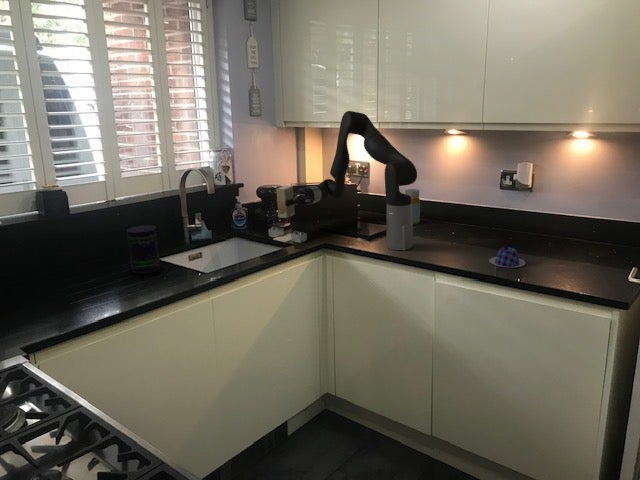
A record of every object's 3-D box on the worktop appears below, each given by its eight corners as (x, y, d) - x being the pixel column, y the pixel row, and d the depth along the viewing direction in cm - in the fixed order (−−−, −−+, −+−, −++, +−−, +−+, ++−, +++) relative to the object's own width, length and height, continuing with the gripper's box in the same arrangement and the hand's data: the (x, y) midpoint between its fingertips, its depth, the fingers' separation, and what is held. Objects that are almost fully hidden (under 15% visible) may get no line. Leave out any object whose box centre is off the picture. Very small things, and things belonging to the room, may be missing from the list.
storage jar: (126, 269, 196) (121, 229, 192) (152, 262, 203) (147, 223, 199) (140, 275, 189) (134, 233, 185) (165, 268, 196) (161, 228, 192)
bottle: (402, 224, 245) (403, 191, 240) (405, 221, 251) (405, 188, 247) (418, 225, 243) (419, 192, 238) (420, 221, 249) (421, 189, 245)
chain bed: (306, 240, 225) (306, 232, 224) (300, 242, 222) (300, 234, 221) (275, 234, 236) (274, 225, 235) (268, 236, 233) (268, 227, 232)
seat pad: (301, 236, 231) (301, 235, 230) (285, 242, 223) (285, 241, 223) (289, 234, 235) (289, 233, 235) (273, 239, 228) (273, 238, 227)
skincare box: (286, 214, 230) (284, 185, 227) (295, 214, 228) (293, 186, 225) (277, 217, 225) (275, 188, 222) (286, 218, 223) (284, 188, 219)
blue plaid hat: (533, 265, 187) (534, 250, 186) (507, 271, 182) (508, 256, 181) (506, 256, 198) (507, 242, 196) (481, 262, 193) (482, 247, 191)
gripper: (296, 185, 239) (268, 192, 226) (321, 188, 230) (293, 195, 217) (296, 202, 241) (269, 209, 228) (321, 205, 232) (294, 214, 219)
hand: (281, 203), depth 223 cm, fingers closed on skincare box, 5 cm apart
